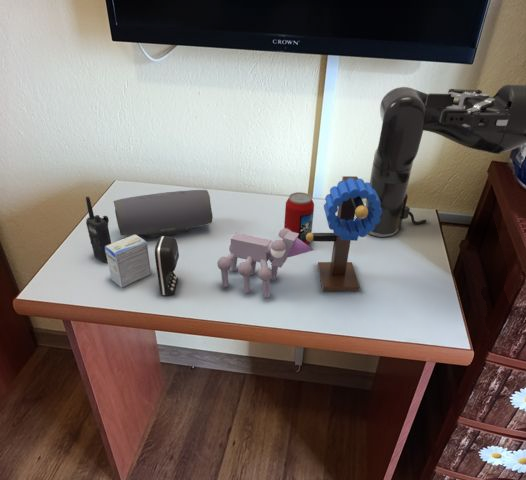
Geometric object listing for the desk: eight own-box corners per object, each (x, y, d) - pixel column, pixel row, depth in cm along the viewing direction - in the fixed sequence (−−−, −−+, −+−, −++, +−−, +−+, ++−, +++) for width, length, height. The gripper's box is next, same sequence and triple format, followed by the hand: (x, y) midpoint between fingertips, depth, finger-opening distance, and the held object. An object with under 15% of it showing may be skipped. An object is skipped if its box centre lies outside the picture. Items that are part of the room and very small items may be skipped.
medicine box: (140, 266, 116) (135, 233, 110) (152, 274, 114) (147, 240, 108) (110, 280, 112) (103, 245, 106) (122, 288, 109) (115, 254, 104)
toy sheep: (315, 283, 113) (321, 228, 104) (301, 310, 105) (307, 254, 96) (232, 264, 117) (231, 210, 108) (214, 289, 110) (211, 234, 101)
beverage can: (308, 251, 123) (312, 205, 115) (281, 247, 124) (283, 202, 116) (312, 237, 128) (316, 192, 120) (285, 234, 129) (288, 189, 120)
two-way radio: (91, 256, 119) (77, 196, 108) (106, 249, 121) (94, 189, 111) (105, 265, 116) (92, 204, 106) (121, 257, 119) (110, 197, 108)
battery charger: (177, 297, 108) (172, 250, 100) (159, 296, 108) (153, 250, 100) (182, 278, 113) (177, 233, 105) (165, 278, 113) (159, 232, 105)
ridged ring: (320, 226, 103) (329, 176, 96) (369, 229, 104) (382, 179, 97) (323, 238, 99) (332, 187, 92) (374, 241, 100) (388, 191, 93)
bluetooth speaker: (205, 217, 134) (203, 181, 127) (213, 234, 128) (212, 197, 121) (118, 228, 128) (111, 191, 122) (122, 247, 122) (115, 209, 115)
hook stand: (300, 266, 118) (309, 169, 102) (351, 266, 118) (367, 169, 103) (308, 311, 105) (319, 208, 89) (364, 311, 106) (385, 209, 90)
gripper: (535, 147, 84) (440, 146, 83) (502, 118, 94) (417, 117, 94) (554, 99, 79) (452, 97, 78) (516, 74, 89) (427, 72, 89)
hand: (433, 108), depth 86 cm, fingers open, 8 cm apart
